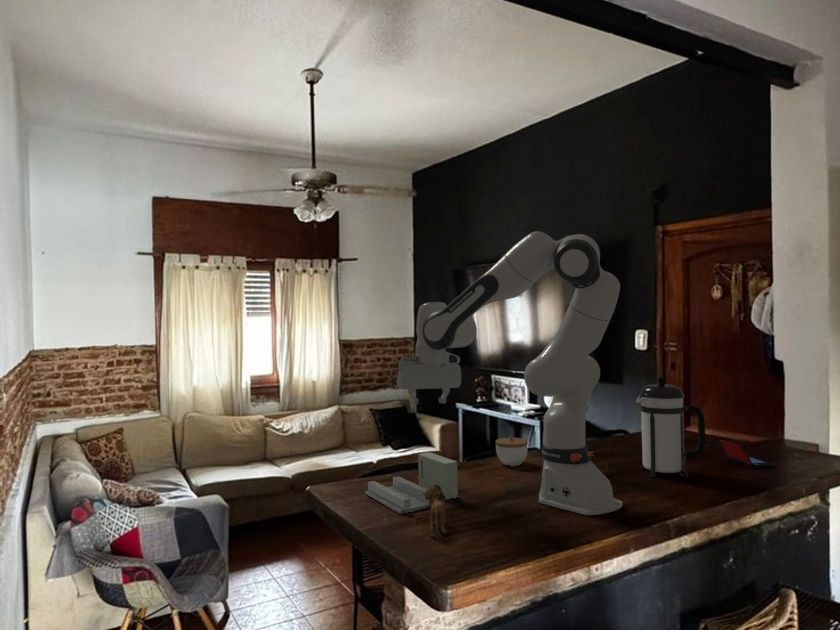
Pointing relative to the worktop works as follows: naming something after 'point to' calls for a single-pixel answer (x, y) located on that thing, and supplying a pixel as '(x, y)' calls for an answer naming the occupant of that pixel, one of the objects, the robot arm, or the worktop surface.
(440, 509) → the lion figurine
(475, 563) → the worktop surface
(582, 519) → the worktop surface
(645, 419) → the coffee press
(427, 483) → the door panel
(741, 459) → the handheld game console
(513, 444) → the lidded jar
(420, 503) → the bottom track
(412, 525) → the worktop surface
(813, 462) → the worktop surface
